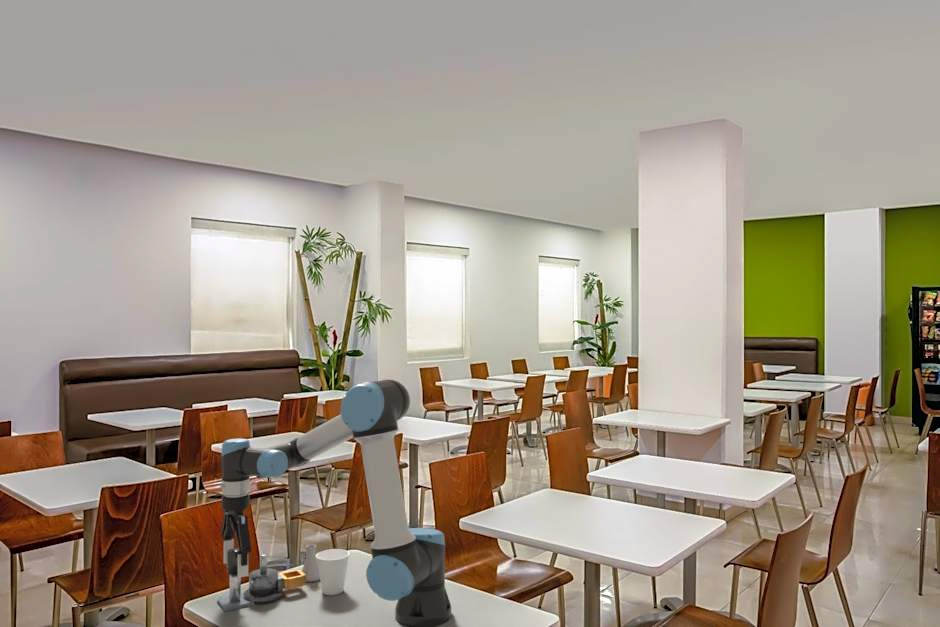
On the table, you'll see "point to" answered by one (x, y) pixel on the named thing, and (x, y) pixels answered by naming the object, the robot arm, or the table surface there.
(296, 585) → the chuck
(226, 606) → the key mat
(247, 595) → the dark grey disc
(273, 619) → the table surface
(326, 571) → the cup
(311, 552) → the flask
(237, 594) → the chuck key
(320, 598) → the table surface
